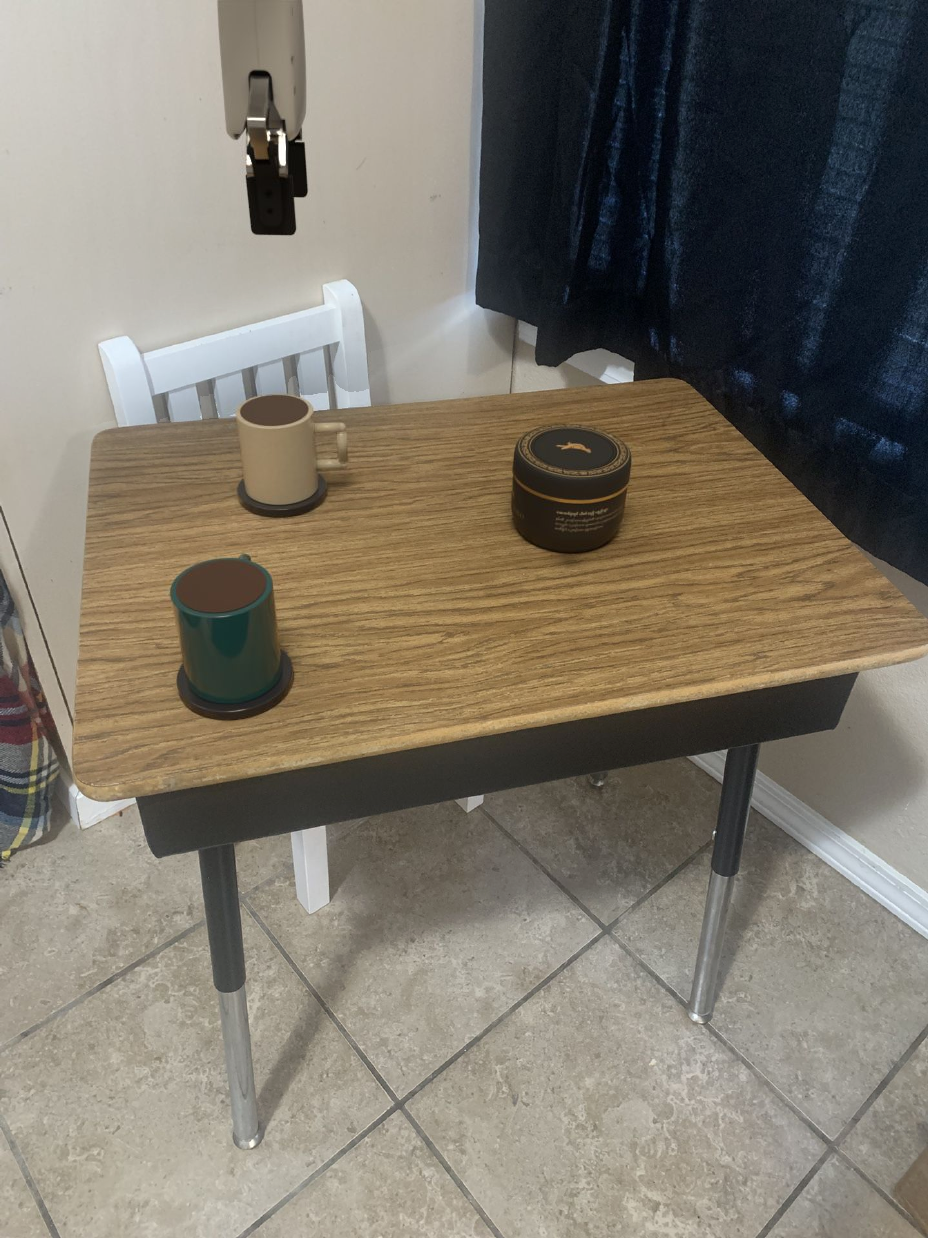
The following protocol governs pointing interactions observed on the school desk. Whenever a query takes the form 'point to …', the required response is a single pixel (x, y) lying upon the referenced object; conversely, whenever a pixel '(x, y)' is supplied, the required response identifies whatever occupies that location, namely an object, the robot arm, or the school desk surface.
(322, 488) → the dark grey round coaster
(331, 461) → the cup back
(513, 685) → the school desk surface
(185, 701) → the saucer front
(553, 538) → the jar
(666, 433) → the school desk surface
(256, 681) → the cup front
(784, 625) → the school desk surface
